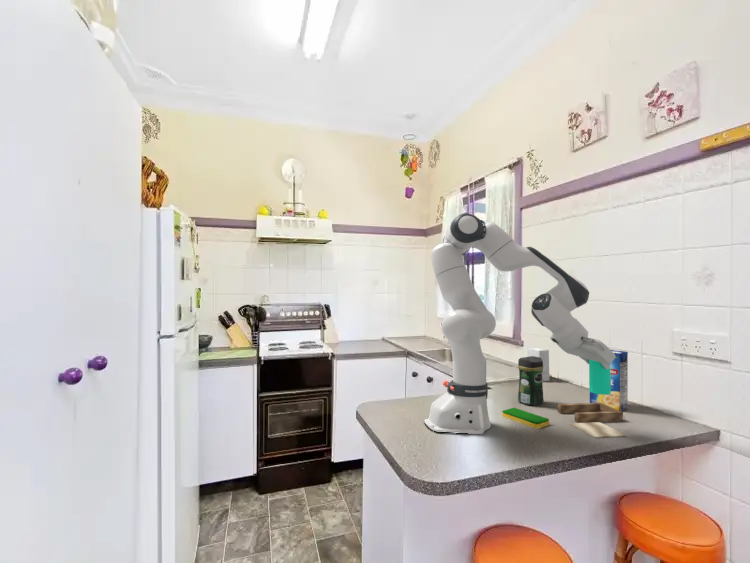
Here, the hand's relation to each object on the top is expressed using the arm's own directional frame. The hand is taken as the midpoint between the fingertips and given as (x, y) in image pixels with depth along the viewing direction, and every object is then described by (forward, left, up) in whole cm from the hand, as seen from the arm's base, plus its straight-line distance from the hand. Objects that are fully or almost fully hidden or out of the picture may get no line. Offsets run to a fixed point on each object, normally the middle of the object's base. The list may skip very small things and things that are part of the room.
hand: (599, 365), depth 119 cm
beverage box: (+22, +22, -21) cm, 38 cm away
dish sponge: (-20, +11, -22) cm, 31 cm away
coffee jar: (-7, +29, -21) cm, 37 cm away
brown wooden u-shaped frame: (+5, +12, -21) cm, 25 cm away
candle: (0, -1, -9) cm, 9 cm away
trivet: (-1, 0, -21) cm, 21 cm away
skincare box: (+18, +63, -21) cm, 69 cm away
